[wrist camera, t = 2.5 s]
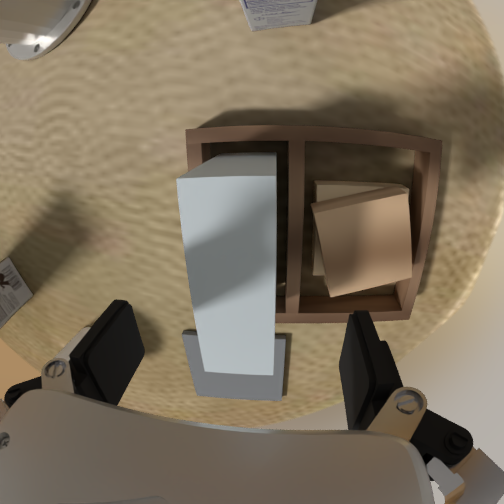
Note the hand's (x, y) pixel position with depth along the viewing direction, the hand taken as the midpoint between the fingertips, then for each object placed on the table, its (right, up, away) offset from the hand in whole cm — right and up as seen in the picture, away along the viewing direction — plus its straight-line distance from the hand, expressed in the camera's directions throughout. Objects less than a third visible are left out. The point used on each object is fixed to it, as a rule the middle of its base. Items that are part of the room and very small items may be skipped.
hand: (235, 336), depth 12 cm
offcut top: (+9, +5, +9) cm, 13 cm away
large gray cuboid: (+1, +6, +11) cm, 12 cm away
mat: (-1, -9, +18) cm, 20 cm away
